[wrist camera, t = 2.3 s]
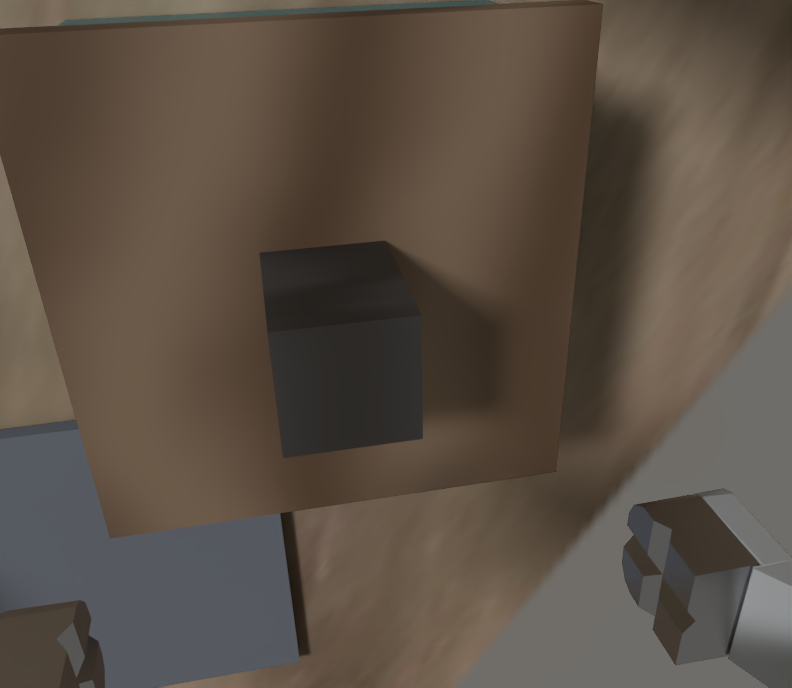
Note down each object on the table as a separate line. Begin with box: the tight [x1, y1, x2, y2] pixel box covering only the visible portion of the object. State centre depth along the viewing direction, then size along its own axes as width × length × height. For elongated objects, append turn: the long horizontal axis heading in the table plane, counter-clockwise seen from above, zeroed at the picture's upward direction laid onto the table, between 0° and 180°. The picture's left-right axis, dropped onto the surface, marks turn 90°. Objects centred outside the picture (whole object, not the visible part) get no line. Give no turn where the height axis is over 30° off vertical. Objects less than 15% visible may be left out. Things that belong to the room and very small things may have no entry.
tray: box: [0, 420, 300, 688], centre depth 30 cm, size 14×14×1 cm
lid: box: [0, 0, 603, 539], centre depth 18 cm, size 13×13×5 cm
